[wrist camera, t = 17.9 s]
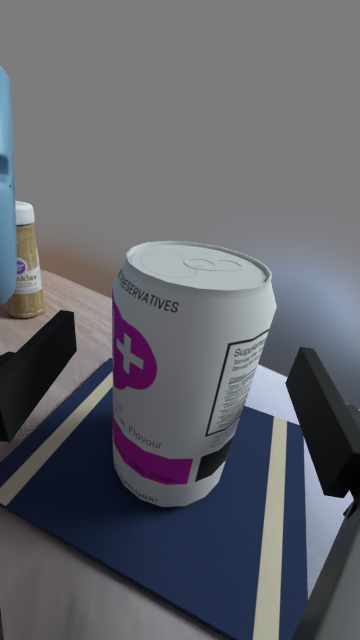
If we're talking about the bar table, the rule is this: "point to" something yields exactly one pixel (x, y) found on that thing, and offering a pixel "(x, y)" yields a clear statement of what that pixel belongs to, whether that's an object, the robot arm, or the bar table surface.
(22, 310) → the sprinkles bottle
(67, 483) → the tea towel
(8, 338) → the bar table surface
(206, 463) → the white soda can
